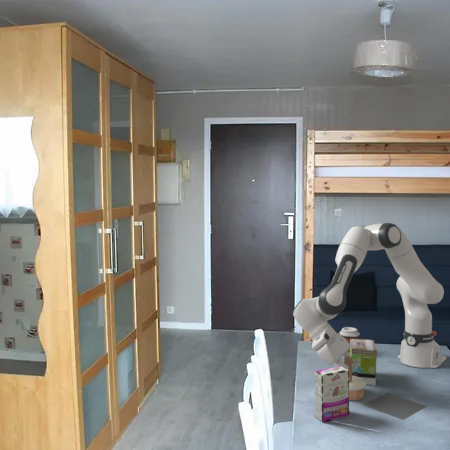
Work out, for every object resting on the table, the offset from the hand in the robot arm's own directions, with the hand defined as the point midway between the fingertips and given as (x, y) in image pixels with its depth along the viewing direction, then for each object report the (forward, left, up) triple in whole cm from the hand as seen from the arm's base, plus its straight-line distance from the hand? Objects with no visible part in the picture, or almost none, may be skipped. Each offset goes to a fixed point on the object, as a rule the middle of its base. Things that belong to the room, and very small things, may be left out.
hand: (349, 366), depth 192 cm
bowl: (0, -1, -11) cm, 11 cm away
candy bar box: (+19, +6, -12) cm, 23 cm away
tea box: (-18, -7, -12) cm, 22 cm away
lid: (0, -1, -7) cm, 7 cm away
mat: (-4, +16, -11) cm, 20 cm away
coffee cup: (-40, -29, -12) cm, 50 cm away
